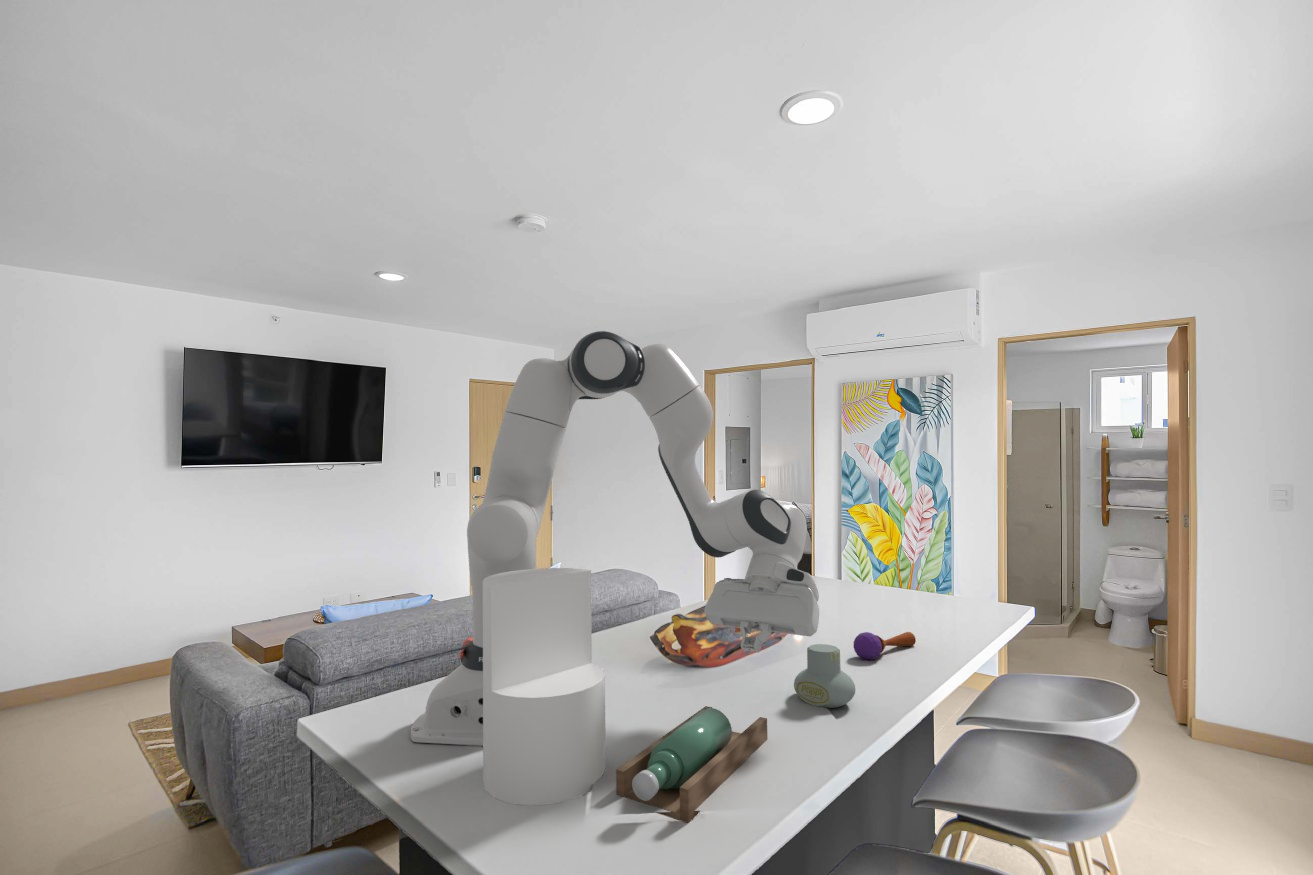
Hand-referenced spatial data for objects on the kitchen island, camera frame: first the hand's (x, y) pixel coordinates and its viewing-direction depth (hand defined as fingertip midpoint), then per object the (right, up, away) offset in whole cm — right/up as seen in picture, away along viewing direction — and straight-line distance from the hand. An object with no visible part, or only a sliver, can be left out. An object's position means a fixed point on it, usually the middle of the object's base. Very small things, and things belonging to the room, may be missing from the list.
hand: (749, 649), depth 111 cm
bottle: (-7, -9, -11) cm, 15 cm away
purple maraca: (+37, -14, +41) cm, 57 cm away
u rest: (-10, -12, -16) cm, 22 cm away
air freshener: (+15, -13, +10) cm, 22 cm away
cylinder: (-32, -13, -17) cm, 38 cm away
